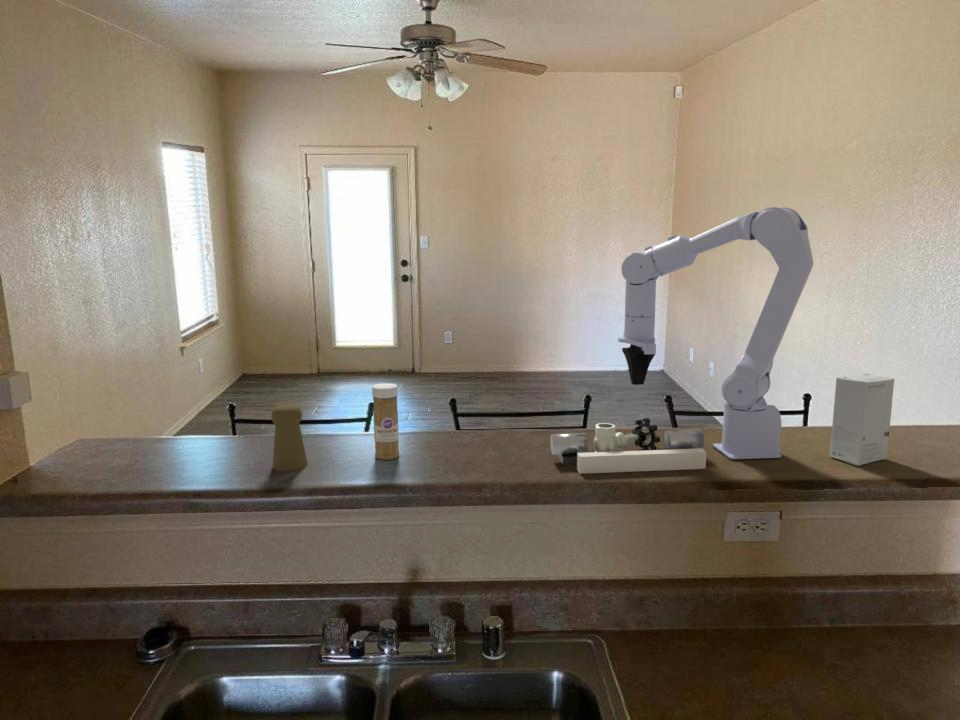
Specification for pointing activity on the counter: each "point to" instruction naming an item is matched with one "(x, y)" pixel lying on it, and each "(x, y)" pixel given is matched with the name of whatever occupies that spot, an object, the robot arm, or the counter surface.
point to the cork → (288, 439)
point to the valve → (624, 437)
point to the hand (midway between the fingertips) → (637, 383)
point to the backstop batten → (641, 460)
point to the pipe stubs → (578, 443)
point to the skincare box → (861, 418)
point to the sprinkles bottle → (385, 421)
